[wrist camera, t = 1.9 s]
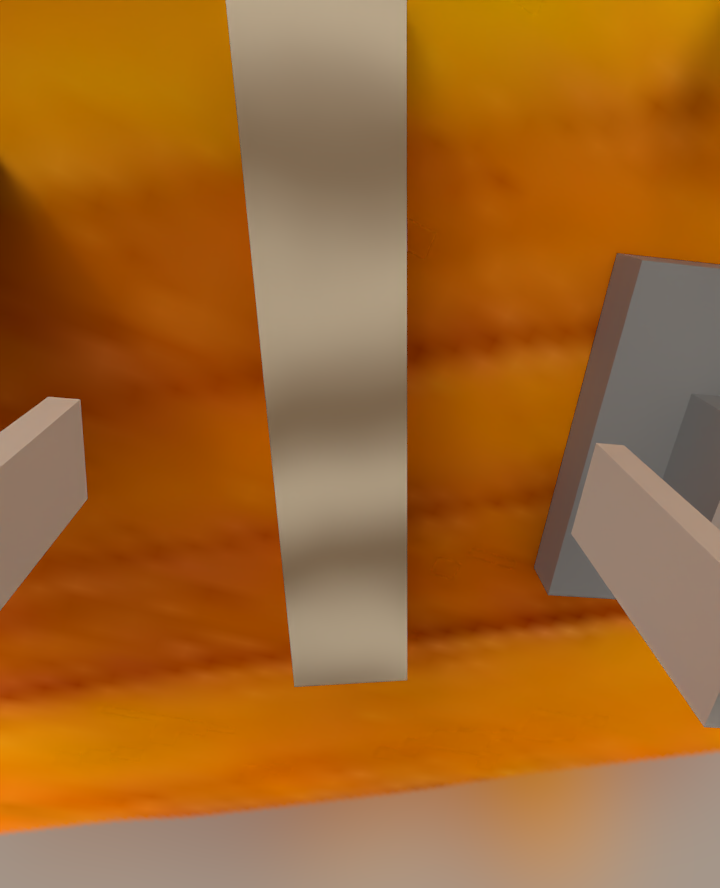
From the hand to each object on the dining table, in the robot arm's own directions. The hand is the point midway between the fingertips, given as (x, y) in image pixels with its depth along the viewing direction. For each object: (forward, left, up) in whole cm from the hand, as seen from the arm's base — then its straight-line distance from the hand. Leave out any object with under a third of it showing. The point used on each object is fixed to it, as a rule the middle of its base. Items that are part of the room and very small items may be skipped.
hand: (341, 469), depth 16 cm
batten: (0, 0, -9) cm, 9 cm away
